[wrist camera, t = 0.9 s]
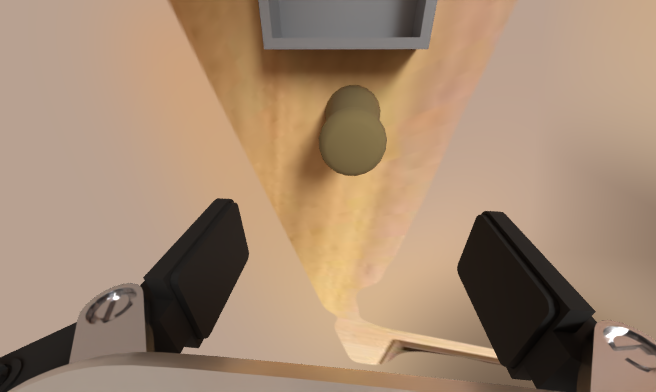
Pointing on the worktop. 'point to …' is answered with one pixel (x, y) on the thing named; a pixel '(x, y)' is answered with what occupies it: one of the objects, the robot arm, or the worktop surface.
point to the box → (347, 24)
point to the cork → (352, 132)
